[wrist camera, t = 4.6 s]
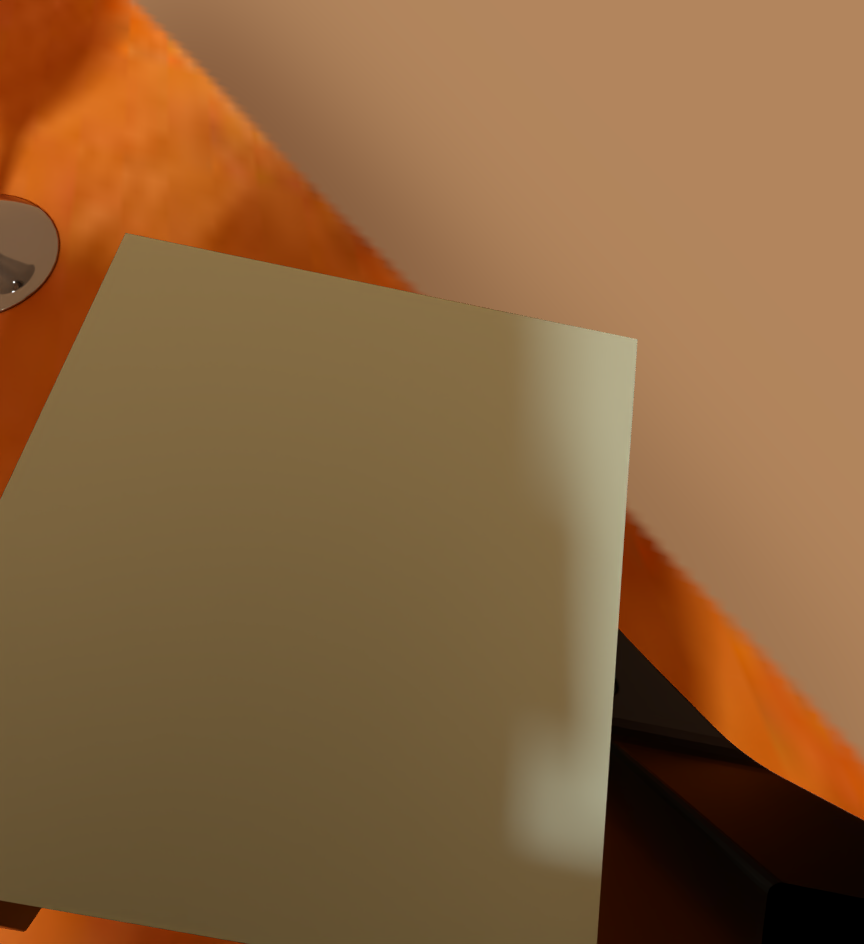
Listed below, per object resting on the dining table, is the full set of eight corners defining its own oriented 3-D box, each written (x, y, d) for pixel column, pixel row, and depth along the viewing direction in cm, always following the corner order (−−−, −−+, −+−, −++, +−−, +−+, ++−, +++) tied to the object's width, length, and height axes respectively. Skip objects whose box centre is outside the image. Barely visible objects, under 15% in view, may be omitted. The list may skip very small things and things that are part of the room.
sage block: (439, 617, 14) (593, 1005, 2) (322, 594, 14) (-175, 871, 2) (460, 501, 16) (637, 339, 3) (351, 479, 15) (125, 233, 3)
